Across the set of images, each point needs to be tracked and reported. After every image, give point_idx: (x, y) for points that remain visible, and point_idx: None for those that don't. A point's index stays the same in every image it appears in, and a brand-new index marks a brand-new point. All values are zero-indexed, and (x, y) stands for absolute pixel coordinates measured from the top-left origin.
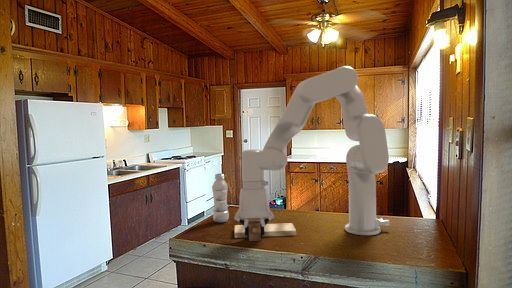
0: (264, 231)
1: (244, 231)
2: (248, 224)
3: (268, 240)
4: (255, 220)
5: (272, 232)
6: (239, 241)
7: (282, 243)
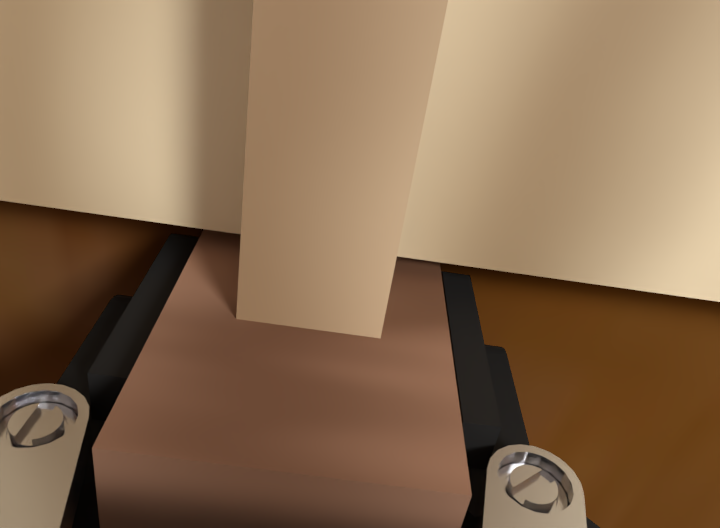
0: (547, 273)
1: (97, 155)
2: (137, 361)
3: (520, 393)
4: (329, 494)
5: (704, 284)
6: (59, 325)
7: (655, 520)
